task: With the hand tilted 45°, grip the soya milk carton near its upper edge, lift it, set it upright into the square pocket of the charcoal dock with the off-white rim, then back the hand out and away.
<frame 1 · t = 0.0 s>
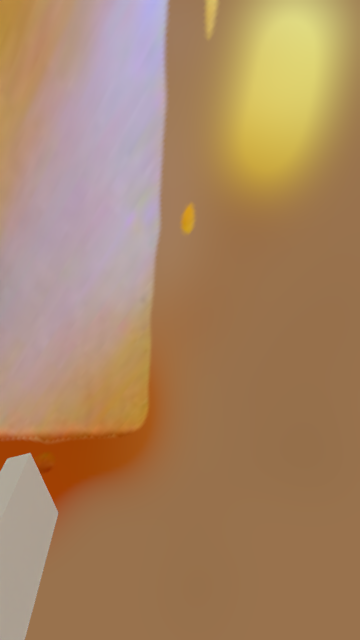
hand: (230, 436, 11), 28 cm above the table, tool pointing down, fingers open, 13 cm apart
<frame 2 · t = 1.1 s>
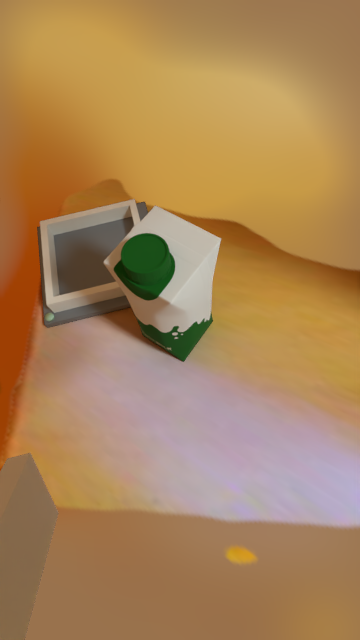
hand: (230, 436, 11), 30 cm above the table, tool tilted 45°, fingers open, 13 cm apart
dock: (100, 261, 51), on the table
soya milk: (178, 328, 46), on the table
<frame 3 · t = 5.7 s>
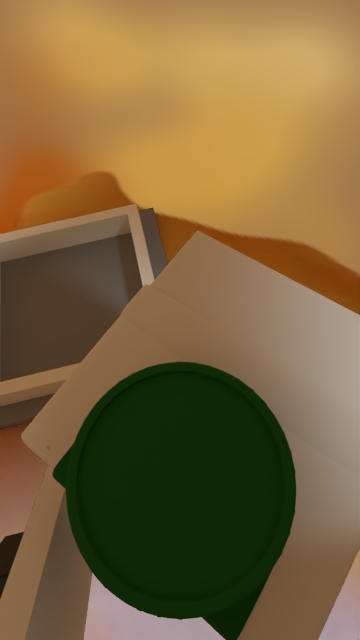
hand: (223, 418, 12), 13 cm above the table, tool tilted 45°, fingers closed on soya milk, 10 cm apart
dock: (77, 309, 30), on the table
soya milk: (213, 445, 25), on the table, touching gripper
when the fingers open (16 cm above the table, at t = 11.3 s): soya milk drops 1 cm, resting on dock.
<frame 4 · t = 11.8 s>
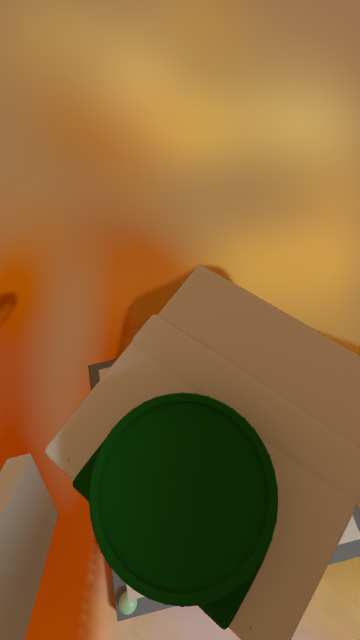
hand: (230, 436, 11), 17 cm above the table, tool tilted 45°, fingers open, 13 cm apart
dock: (212, 447, 27), on the table
soya milk: (213, 450, 26), point 1 cm above the table, touching dock
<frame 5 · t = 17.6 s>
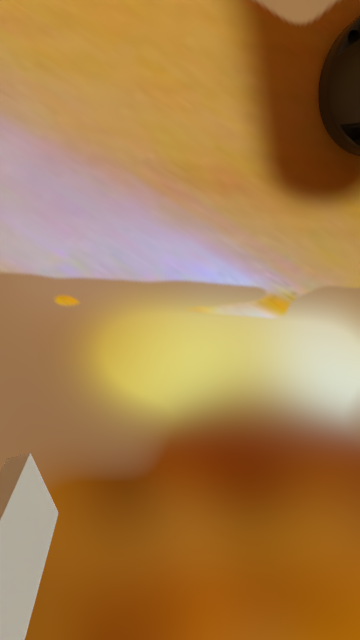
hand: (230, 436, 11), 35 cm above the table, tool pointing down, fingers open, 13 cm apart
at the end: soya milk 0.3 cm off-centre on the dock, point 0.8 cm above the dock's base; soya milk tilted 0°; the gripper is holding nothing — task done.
